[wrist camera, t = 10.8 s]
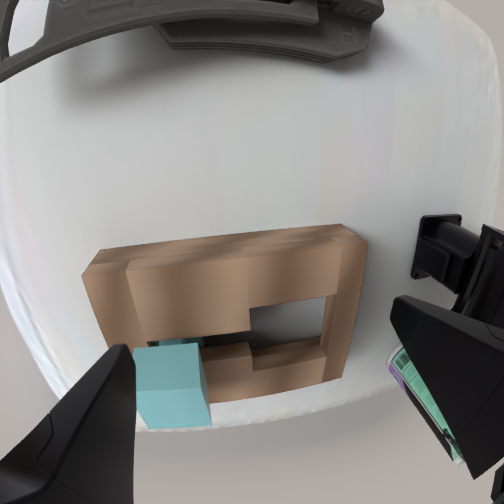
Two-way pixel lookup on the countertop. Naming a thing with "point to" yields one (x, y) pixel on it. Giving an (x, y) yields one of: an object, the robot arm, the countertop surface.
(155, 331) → the keyhole plate
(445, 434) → the spray can
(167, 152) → the countertop surface
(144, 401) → the teal peg
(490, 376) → the robot arm
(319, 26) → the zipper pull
